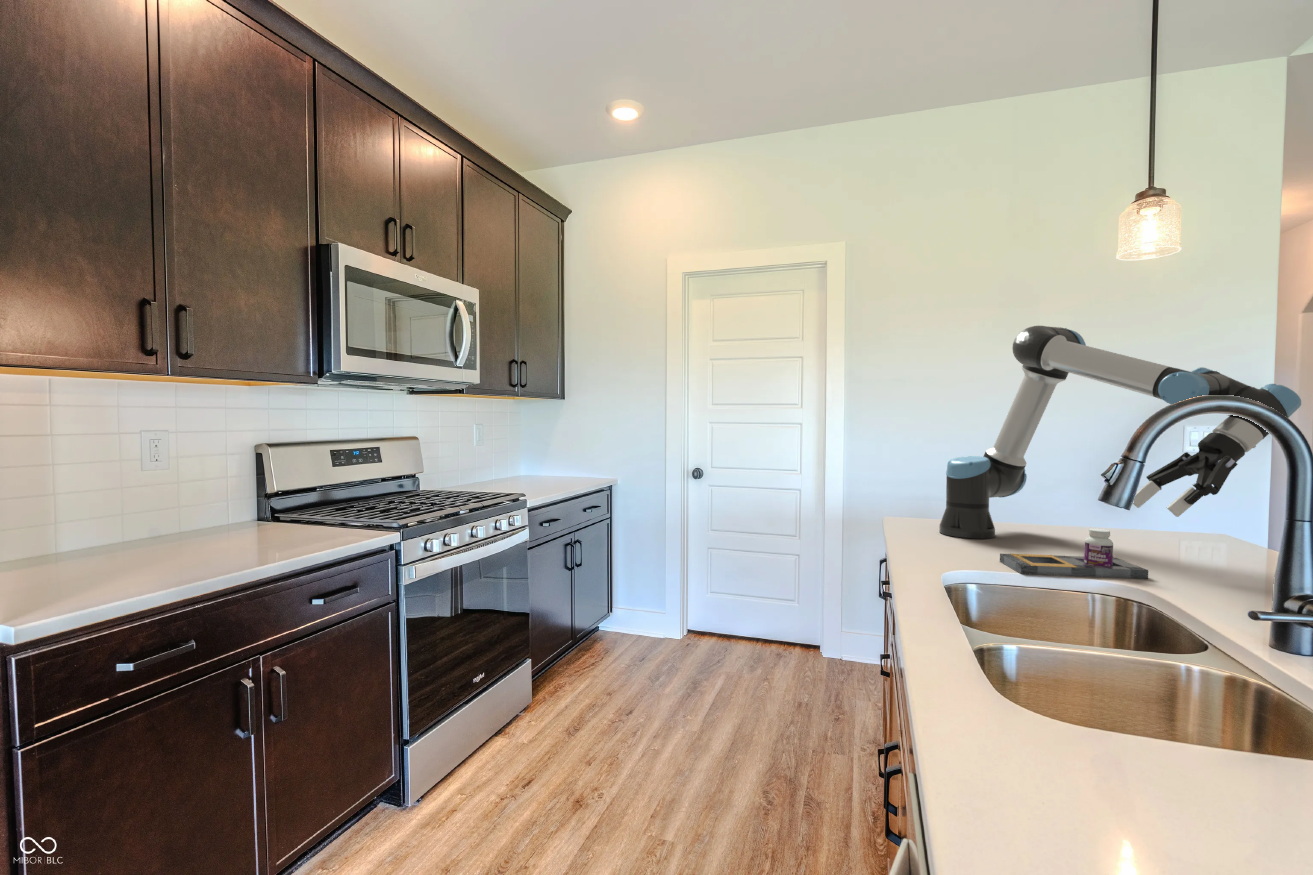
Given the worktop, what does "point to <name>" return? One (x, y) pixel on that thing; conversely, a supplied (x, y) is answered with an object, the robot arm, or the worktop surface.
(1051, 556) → the rail plate
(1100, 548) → the pill bottle
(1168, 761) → the worktop surface
